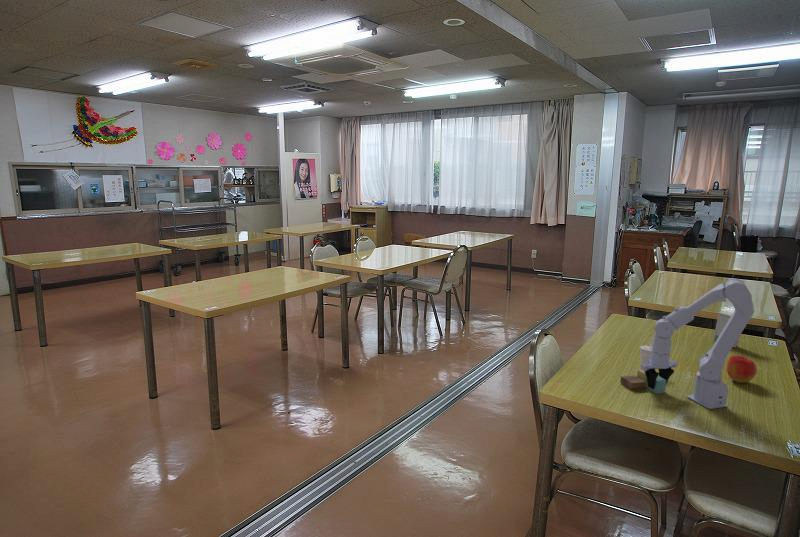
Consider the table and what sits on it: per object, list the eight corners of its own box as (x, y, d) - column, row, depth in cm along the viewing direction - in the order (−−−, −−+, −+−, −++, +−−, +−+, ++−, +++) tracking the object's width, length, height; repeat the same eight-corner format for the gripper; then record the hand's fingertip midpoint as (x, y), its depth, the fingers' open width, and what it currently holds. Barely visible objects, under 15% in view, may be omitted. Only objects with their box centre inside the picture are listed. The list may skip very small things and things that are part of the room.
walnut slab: (644, 389, 174) (645, 381, 173) (630, 390, 173) (631, 383, 172) (633, 382, 180) (634, 375, 179) (620, 383, 178) (620, 376, 178)
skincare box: (712, 343, 224) (717, 311, 221) (720, 341, 227) (725, 310, 224) (730, 349, 217) (735, 316, 214) (739, 347, 219) (744, 315, 216)
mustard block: (652, 385, 177) (654, 373, 176) (644, 386, 176) (645, 374, 175) (644, 381, 181) (646, 368, 180) (636, 382, 180) (637, 369, 179)
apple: (743, 388, 176) (747, 363, 174) (718, 378, 184) (721, 354, 182) (759, 384, 179) (764, 359, 177) (734, 374, 188) (738, 351, 186)
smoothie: (657, 374, 187) (661, 341, 184) (639, 373, 188) (643, 339, 185) (652, 368, 193) (656, 335, 190) (635, 366, 194) (639, 334, 191)
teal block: (664, 392, 171) (666, 379, 170) (655, 393, 170) (657, 380, 169) (655, 387, 175) (657, 375, 174) (647, 388, 174) (648, 376, 173)
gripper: (668, 346, 175) (663, 380, 178) (636, 349, 171) (631, 384, 174) (684, 353, 169) (679, 388, 171) (651, 356, 165) (646, 392, 167)
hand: (656, 386), depth 172 cm, fingers open, 4 cm apart
